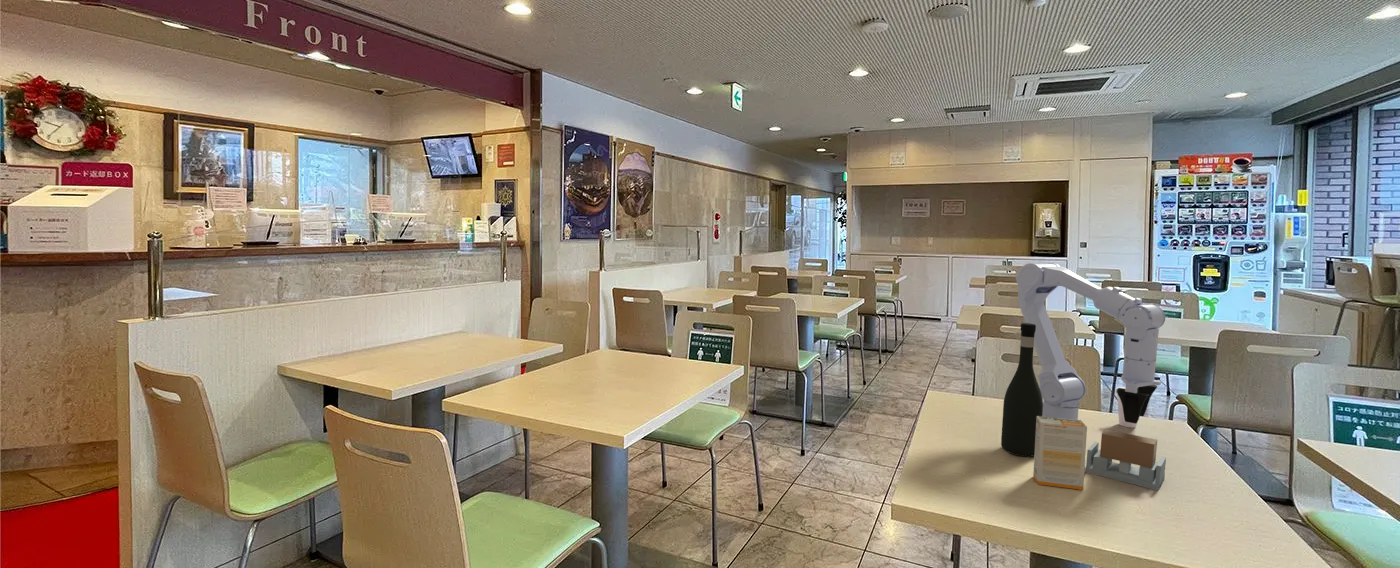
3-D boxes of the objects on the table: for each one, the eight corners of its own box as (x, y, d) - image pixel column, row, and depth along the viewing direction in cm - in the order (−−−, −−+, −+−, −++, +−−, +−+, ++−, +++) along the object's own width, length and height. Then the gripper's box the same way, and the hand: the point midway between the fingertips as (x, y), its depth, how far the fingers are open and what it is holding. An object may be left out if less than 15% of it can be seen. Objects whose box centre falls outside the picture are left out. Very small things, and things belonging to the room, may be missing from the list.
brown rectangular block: (1100, 456, 129) (1101, 433, 128) (1104, 451, 132) (1105, 429, 131) (1152, 468, 123) (1154, 444, 122) (1155, 463, 125) (1157, 439, 125)
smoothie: (1147, 430, 158) (1151, 377, 157) (1119, 428, 159) (1124, 375, 158) (1134, 422, 164) (1139, 371, 163) (1108, 420, 166) (1112, 370, 164)
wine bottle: (1012, 443, 146) (1020, 320, 144) (1046, 453, 140) (1055, 324, 137) (993, 449, 142) (1001, 322, 139) (1027, 460, 135) (1036, 327, 133)
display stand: (1085, 472, 129) (1086, 450, 129) (1093, 462, 135) (1095, 441, 134) (1158, 490, 120) (1160, 467, 120) (1164, 479, 126) (1166, 456, 126)
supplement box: (1077, 481, 124) (1081, 419, 123) (1083, 491, 119) (1088, 426, 118) (1031, 475, 127) (1036, 414, 125) (1036, 484, 122) (1040, 421, 121)
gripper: (1156, 366, 126) (1150, 430, 127) (1167, 357, 136) (1162, 416, 137) (1116, 360, 131) (1110, 422, 132) (1130, 352, 141) (1125, 409, 142)
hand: (1134, 418), depth 135 cm, fingers open, 7 cm apart
